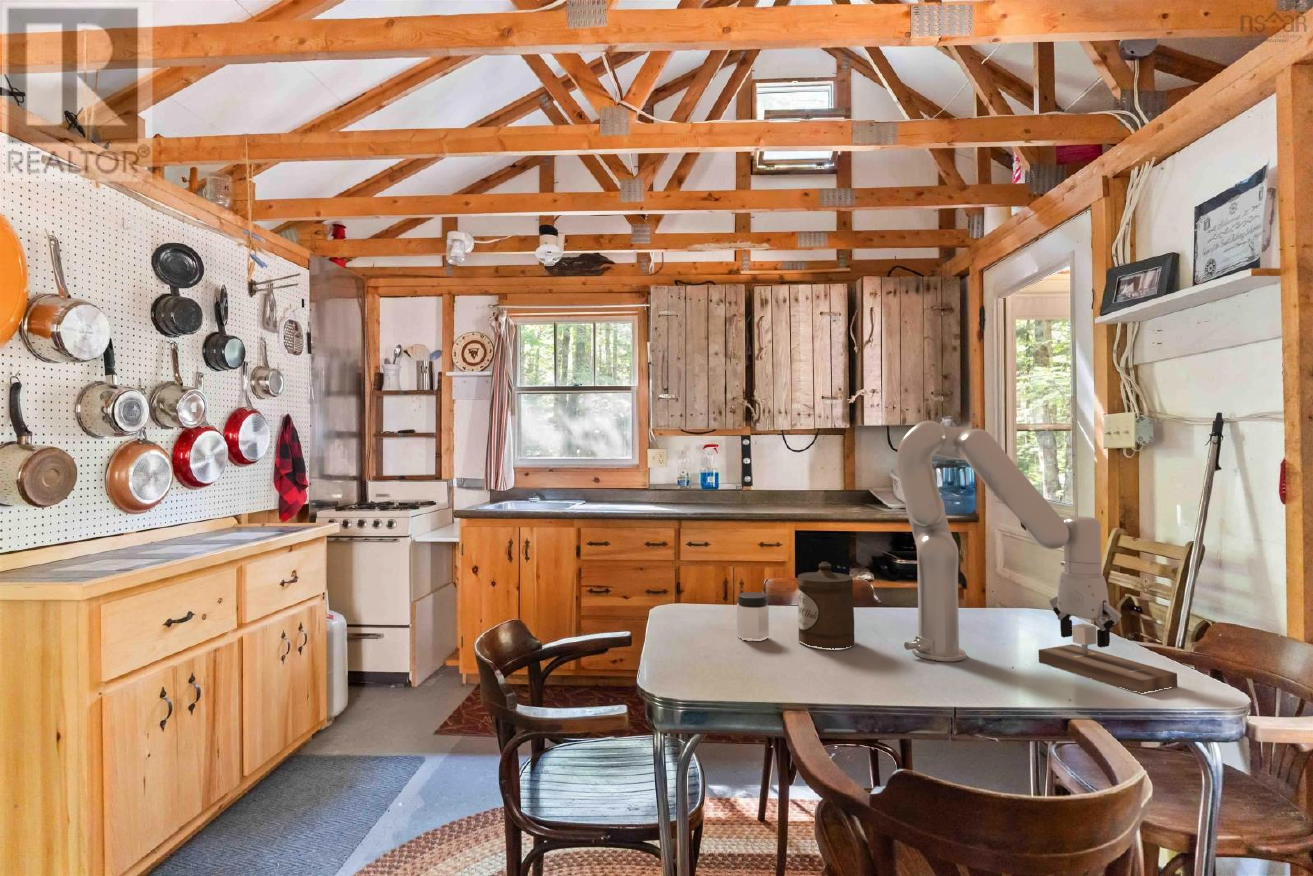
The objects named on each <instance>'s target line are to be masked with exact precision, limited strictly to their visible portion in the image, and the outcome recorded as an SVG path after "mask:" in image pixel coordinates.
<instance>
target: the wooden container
mask: <svg viewBox="0 0 1313 876" xmlns="http://www.w3.org/2000/svg"><path fill="white" fill-rule="evenodd" d="M818 568H819V570H818V571H815V572H814V571H813V572H811V571H810V572H802V573H799V574H798V575H797V587H798V590H797V591H798V595H797V599H798V600H797V601H798V602H797V605H798V608H797V611H798V615H797V617H798V618H797V621H798V622H797V623H798V624H797V625H798V642H799V641H801V642H803V643H805V644H807V645H810V646H817V647H822V648H831V649H832V648H834V649H835V648H846V647H850V646H853V645H854V646H855V610H854V592H853V591H854V590H853V589H854V583H853V577H852V576H851V575H849V574H847V573H840V572H833V571H832V570H831V569H832V564H831V563H829V562H828V561H821V563H819V564H818ZM854 646H853V647H854Z"/></svg>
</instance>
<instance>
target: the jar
mask: <svg viewBox="0 0 1313 876" xmlns="http://www.w3.org/2000/svg"><path fill="white" fill-rule="evenodd" d="M769 614H770V613H769V605H768V595H767V594H766V593H762V592H755V591H754V592H753V591H752V592H751V591H750V592H747V591H746V592H741V593H738V595H737V603H736V635H737V634H738V635H739V636H741V637H742V638H752V639H761V638H764V637H767V636H769V637H770V631H769V629H770V627H769V626H770V625H769V624H770V623H769V619H770V618H769Z"/></svg>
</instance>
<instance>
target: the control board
mask: <svg viewBox="0 0 1313 876" xmlns="http://www.w3.org/2000/svg"><path fill="white" fill-rule="evenodd" d="M1038 663H1040V664H1043V665H1046V664H1047V666H1050V667H1052V668H1057V669H1059V668H1060V669H1059V670H1062V669H1063V671H1065V670H1066V672H1069V673H1072V674H1075V673H1076V674H1075V675H1078V676H1081V677H1085V678H1088V679H1090V678H1092V679H1091V680H1093V679H1094V681H1097V682H1099V683H1100V682H1101V683H1103V682H1105V683H1104V684H1106V683H1107V684H1106V685H1109V684H1110V686H1112V685H1113V687H1115V686H1116V687H1115V688H1119V687H1122V688H1125V689H1128V690H1131V691H1137V692H1140V693H1144V692H1148V691H1155V690H1159V689H1164V688H1169V687H1176V688H1178V673H1177V672H1174V671H1169V670H1166V669H1162V668H1159V667H1156V666H1151V665H1148V664H1144V663H1141V662H1138V661H1134V660H1129V659H1126V658H1123V657H1119V656H1115V655H1112V654H1108V653H1105V652H1102V651H1099V650H1098V651H1097V650H1094V649H1091V648H1088V654H1087V655H1086V654H1082V646H1079V645H1078V644H1077V645H1076V644H1067V645H1066V644H1065V645H1059V646H1054V647H1047V648H1040V649H1038ZM1122 688H1121V689H1122ZM1125 689H1124V690H1125ZM1128 690H1127V691H1128ZM1131 691H1130V692H1131Z"/></svg>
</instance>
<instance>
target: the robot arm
mask: <svg viewBox="0 0 1313 876" xmlns="http://www.w3.org/2000/svg"><path fill="white" fill-rule="evenodd" d="M934 456H937V457H942V458H949V459H953V460H961V461H965V462H966V463H967V464H968V465H969V467H970V468H971V469H972V470H973V472H974V473H975V474H976V475H977V476H978V478H979V479H980V480H981V481H982V483H983V484H984V485H985V487H986V488H987V489H988V490H989V491H990V492H991V494H992V495H993V496H994V497H995V498H996V499H997V500H998V501H1000V502H1001V503H1002V504H1003V505H1005V506H1006V507H1007V508H1008V509H1009V510H1010V511H1011V512H1012V513H1013V514H1014V515H1015V517H1016V518H1017V520H1018V521H1020V523H1021V524H1022V525H1023V527H1025V531H1026V535H1027V536H1028V538H1029V539H1030V540H1031V541H1033V542H1034V543H1035V544H1037V545H1039V546H1041V547H1042V548H1045V549H1047V550H1057V549H1061V548H1062V547H1063V558H1064V560H1061V562H1060V566H1062V567H1064V569H1063V570H1064V571H1062V572H1061V573H1060V576H1059V581H1058V589H1057V596H1055V597H1053V598H1051V599H1049V604H1050V605H1051V608H1052V611H1053V612H1054V614H1055V615H1056V616H1057V620H1058V621H1060V622H1059V623H1060V624H1059V625H1060V626H1059V627H1060V630H1059V631H1060V636H1061V637H1062V638H1070V637H1073V628H1072V625H1073V621H1072V619H1071V617H1072V616H1073V617H1077V618H1082V619H1085V620H1086V619H1087V620H1089V621H1091V620H1093V621H1095V624H1096V625H1097V626H1098V628H1099V629H1096V643H1097V644H1096V646H1097V647H1099V648H1106V647H1109V646H1110V643H1111V636H1110V635H1111V634H1110V633H1111V632H1110V631H1112V629H1113V628H1114V627H1115V626H1117V624H1118V623H1119V621H1120V619H1121V618H1122V616H1123V615H1122V614H1121V613H1120V612H1119V611H1118V610H1116V608H1114V607H1113V606H1112V605H1110V600H1109V599H1110V598H1109V593H1108V592H1109V591H1108V587H1107V582H1106V578H1105V576H1104V575H1103V567H1102V565H1103V564H1102V531H1101V530H1102V527H1101V522H1100V520H1099V519H1097V518H1095V517H1091V516H1069V517H1067V516H1060V515H1059V514H1058V512H1057V511H1056V510H1055V509H1054V508H1053V506H1051V504H1050V503H1049V502H1048V501H1047V500H1046V499H1045V497H1044V496H1043V495H1042V493H1040V492H1039V491H1038V489H1037V488H1036V487H1035V486H1034V485H1033V483H1032V482H1031V481H1030V479H1029V478H1028V477H1027V476H1026V475H1025V474H1024V473H1023V471H1021V469H1020V468H1019V467H1018V466H1017V465H1016V463H1014V461H1013V460H1012V459H1011V458H1010V456H1009V455H1008V454H1007V452H1005V450H1004V449H1003V448H1002V447H1001V446H1000V445H999V443H998V442H997V441H996V439H995V438H994V437H993V436H992V435H991V434H990V433H989V432H987V430H985V429H982V428H972V429H971V428H963V427H962V428H961V427H955V426H949V425H944V424H940V423H938V422H936V421H934V420H924V421H919V422H918V423H916V424H915V425H914V426H913V427H911V428H910V430H909V431H908V432H907V433H906V434H905V435H904V436H903V437H902V439H901V441H900V443H899V445H898V449H897V453H896V466H897V468H896V469H897V473H898V477H899V481H900V485H901V489H902V493H903V497H904V500H905V511H906V514H907V517H908V523H909V524H910V529H911V532H912V535H913V539H914V543H915V547H916V557H917V558H916V559H917V561H916V562H917V565H916V567H917V609H918V610H917V614H918V615H917V616H918V635H915V639H914V640H913V641H911V640H910V641H906V642H904V643H903V647H904V648H905V650H906V651H907V650H912V653H913V655H915V656H917V657H920V658H922V659H925V660H930V659H931V660H930V661H935V660H936V662H937V661H938V662H959V661H964V660H965V659H966V658H967V654H966V653H967V652H966V651H965V650H964V649H962V648H960V634H959V632H960V631H959V630H960V629H959V628H960V627H959V625H960V624H959V619H960V618H959V548H958V545H957V543H956V540H955V539H954V537H953V534H952V532H951V528H950V524H949V522H948V518H947V514H946V510H945V509H946V508H945V507H946V506H945V501H944V499H943V498H942V496H941V493H940V491H939V487H938V484H937V480H936V476H935V471H934V467H933V457H934ZM1109 616H1110V617H1109ZM1109 618H1110V619H1109Z"/></svg>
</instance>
